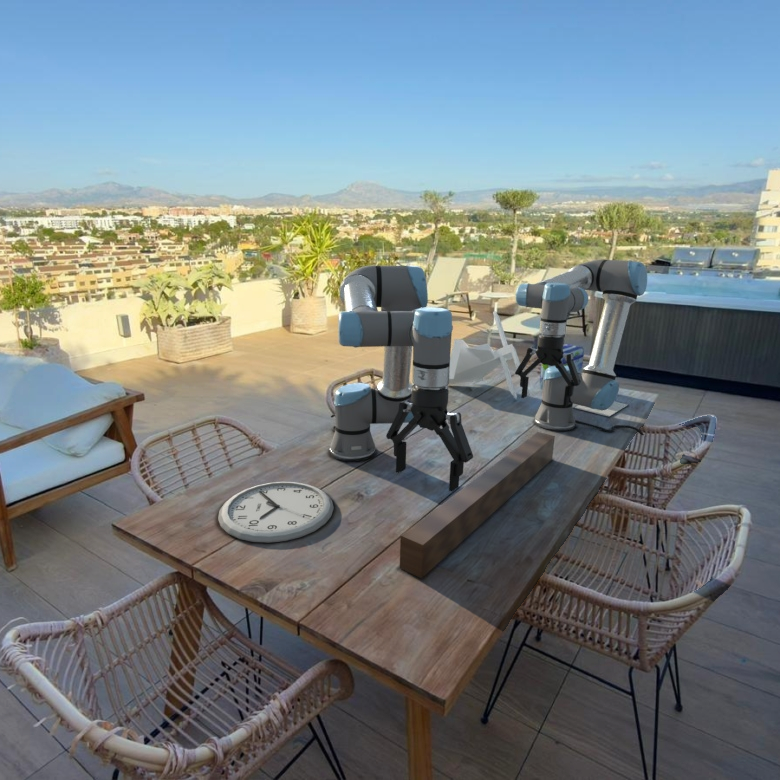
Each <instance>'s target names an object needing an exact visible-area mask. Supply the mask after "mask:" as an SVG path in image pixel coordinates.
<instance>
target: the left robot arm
mask: <svg viewBox="0 0 780 780" xmlns="http://www.w3.org/2000/svg"><path fill="white" fill-rule="evenodd" d="M427 283H428V282H427V278H426V273H425V271H424V269H423V267H421V266H418V265H417V266H416V265H408V264H406V265H375V264H373V265H371V264H370V265H364V266H361V267H358V268H356V269H354V270H352V271H351V272H349V273H348V274H347V275H346V276H345V277H344V278H343V279H342V281H341V283H340V285H339V298H340V301H341V302H342V304H343V305H344V310H345V311H341V312H339V314H338V324H337V325H338V343H339V345H340V346H341V347H351V348H371V347H373V348H375V347H376V348H377V347H378V348H379V347H382V348H383V350H384V351H383V364H382V379H381V380H379V382H378V383H377V388H372V387H371V385H370V384H369V383H366V382H354V383H348V384H345V385H342V386H340V387H338V389H336V390H335V393H334V402H333V405H334V413H333V414H331V415H330V418H334V426H332V428H331V431H332V432H333V437H332V440H331V443H330V446H329V454H330V456H331V457H332V458H334V459H336V460H338V461H342V462H352V463H353V462H361V461H366V460H369V459H371V458H372V457H374V456H375V455H376V444H375V440H374V438H373V434H372V431H371V425H377V424H379V425H380V424H381V425H382V424H385V425H386V424H391V425H390V427H389V429H388V431H387V433H386V435H385V438H386V440H387V439H388V440H391V441H392V443H393V456H394V457H395V472H396V473H397V474H400V473H401V472H402V471H405V470H406V469H407V441H405V439H406V438H407V437H408V436H409V435H410V434H411V433H412V432H413V431H414V430H415V428H417V427H418V426H419V428H421V429H427V430H429V431H431V432H432V431H434V432H435V434H436V435H438V436H439V438H440V439H441V441H442V443H443V445H444V446H445V448H446V450H447V451H448V453H449V455H450V457H451V458H452V460H451V461H450V464H449V465H450V466H449V480H448V481H449V482H448V491H449V492H454V491H456V490H457V489H458V488H459V485H460V477H461V476H462V475H463V474H464V464H466V463H468V462H469V461H470V460H472V459H473V458H474V454H473V451H472V449H471V445H470V442H469V440H468V437H467V434H466V431H465V429H464V427H463V423H462V414H461V412H455V413H453V412H451V413H450V412H448V404H449V393H450V392H449V390H450V388H449V387H448V386H449V385H448V384H449V373H450V357H451V352H452V337H453V336H452V335H453V329H454V326H453V314H452V312H451V310H449V309H447V308H442V307H436V306H435V307H434V306H433V307H431V306H429V307H428V302H429V296H428V295H429V294H428V285H427ZM378 308H380V311H379V309H378ZM411 366H412V371H411ZM411 372H412V375H411ZM410 376H411V378H410ZM410 379H411V381H410ZM403 424H406V425H405V426H404V427H403V429H402V430H401V428H402V426H403ZM449 425H450V426H449ZM400 430H401V431H400Z"/></svg>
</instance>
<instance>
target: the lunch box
mask: <svg viewBox="0 0 780 780" xmlns="http://www.w3.org/2000/svg"><path fill="white" fill-rule="evenodd" d="M584 352H585V351H584V347H583V346H580V345H579V346H578V345H573V344H564V346H563V353H564V354H570V353H573V361H574V364H575V366H576V368H577V370H578V371H577V372H578V373H582V370H583V365H584V357H585V353H584ZM561 361H562V362H563V365H564V366H568V365H567V361H566V360H565V358H564V357H563V358H562V359H561ZM554 366H555V365H554ZM554 366H549V365H543V364H542V363H540V373H539V374H540V375H539V377H540V378H539V389H540V390H542V391H543V381H544V380H543V379H544V375H545V371H546V369H548V368H550V367H554Z"/></svg>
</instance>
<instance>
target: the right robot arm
mask: <svg viewBox="0 0 780 780" xmlns="http://www.w3.org/2000/svg"><path fill="white" fill-rule="evenodd" d="M647 286H648V270H647V267H646V265H645V264H644V263H643V262H642V261H634V260H623V259H622V260H619V259H605V258H603V259H595V260H593V259H592V260H591V261H590V260H589V261H586V262H582V263H580V264H576V265H574V266H572V267H571V268H570V269H569V270H568V271H566V272H563V273H561V274H558V275H556V276H552V277H550V278H547V279H544V280H542V281H539V282H536V283H530V282H528V283H521V284H519V285H518V287H517V288H516V290H515V299H514V300H515V302H516V304H517V305H518V306H520V307H525V308H532V309H538V310H539V309H540V310H541V314H540V322H539V331H538V333H539V335H538V340H537V348H534V347H533V346H530V347H528V348H527V349H526V353H525V356H524V358H523V359H522V361H521V362H520V365H519V367H518V368H517V369H516V370H515V372H514V374H515V375H516V376H518V375H519V376H520V379H519V387H520V388H521V399H525V398H526V397H528V396H527V390H529V378H530V377H529V376H528V375H529V374H530V373H532V372H533V370H534V369H536V368H537V367H538V366H539V365H541V363H542V364H543V365H549V366H554V365H555V366H554V367H550V368H548V369H546V371H545V375H544V379H543V380H544V381H543V390H542V394H541V402H540V405H539V407H538V410H537V411H536V413H535V416H534V424H535V425H536V426H537V427H539V428H542V429H544V430H549V431H556V432H567V431H572V430H574V429H575V428H576V424H578V425H582V426H586V427H590V428H594V429H597V430H600V431H602V432H605V433H612V432H614V431H615V429H630V430H634V431H635V432H637V433H638V434H640V436H645V434H644V432H643V431H642V430H640V429H639V428H637V427H635V426H633V425H625V424H619V425H618V424H616V425H612V426H611V429H607V428H604V427H602V426H600V425H596V424H592V423H588V422H584V421H580V420H577V419H576V418H575V417H576V416H575V413H574V407H573V405H576V406H578V405H581V406H585V407H589V408H591V409H598V410H606V409H608V408H609V407H610V406H611V405H612V404H613V403H614V402H616V399H617V398H618V394H619V391H620V383H619V381H618V380H616V378H617V375H616V373H615V371H614V368H615V364H616V360H617V356H618V352H619V349H620V345H621V341H622V339H623V334H624V330H625V326H626V323H627V319H628V315H629V312H630V307H631V305H632V304H635V303H636V302H637V300H638V297H641V296H643V295H644V294H645V292H646V291H647ZM587 291H592V292H600V293H602V294H601V297H602V299H603V300H604V304H603V306H602V307H603V308H602V310H601V311H602V312H601V315H600V319H599V323H598V326H597V331H596V333H595V338H594V341H593V346H592V349H591V353H590V358H589V362H588V364H587V365H586V366H584V367H582V373H578V372H577V371H578V370H577V368H576V366H575V364H574V361H573V353H570V354H564V353H563V346H564V345H565V335H566V328H567V319H568V314H572V313H577V312H579V311H582V310H583V309H585V308H586V307H587V305H588V303H589V294H588V292H587ZM535 354H536V355H535ZM534 355H535V356H536V357H537V358H536V359H535V360H534V362H533V363H531V364H530V365H529V366H528V367H527V368H526V366H527V365H528V363H529V361H530V360H531V359H532V357H533V356H534ZM563 357H564V358H565V360H566V361H567V365H568V366H564V365H563V362H562V361H561V359H562V358H563ZM525 368H526V369H525ZM524 369H525V370H524ZM522 371H523V372H522ZM519 376H518V377H519Z"/></svg>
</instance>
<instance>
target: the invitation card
mask: <svg viewBox="0 0 780 780" xmlns="http://www.w3.org/2000/svg"><path fill="white" fill-rule="evenodd" d="M628 406H629V404H627V403H623V402H618V401H614V403H613V404H612V405H611V406H610V407H609V408H608V409H606V410H598V409H591V408H589V407H585V406H581V405H575V406H574V407H573V409H575V410H581V411H584V412H587V413H593V414H596V415H600V416H604V417H608V418H609V417H611V416H613V415H614V414H616V413H617V412H619V411H621V410H623V409H624V408H626V407H628Z"/></svg>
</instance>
